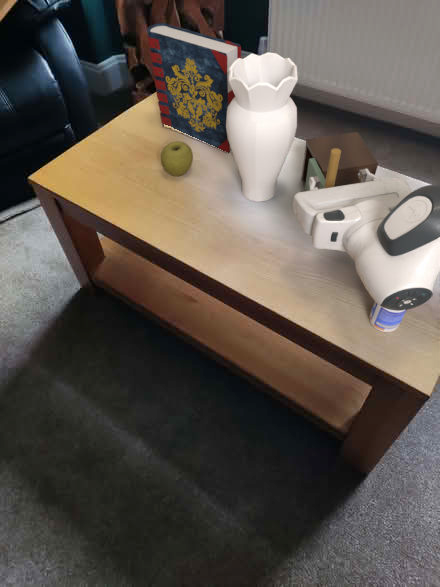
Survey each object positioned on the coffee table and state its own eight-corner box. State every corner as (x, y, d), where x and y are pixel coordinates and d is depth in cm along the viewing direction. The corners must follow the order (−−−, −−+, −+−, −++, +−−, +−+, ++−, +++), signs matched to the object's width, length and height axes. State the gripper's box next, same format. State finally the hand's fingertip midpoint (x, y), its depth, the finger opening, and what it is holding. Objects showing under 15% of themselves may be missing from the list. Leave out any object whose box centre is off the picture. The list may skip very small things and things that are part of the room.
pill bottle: (405, 327, 78) (422, 294, 70) (379, 337, 77) (394, 305, 69) (387, 305, 81) (402, 271, 74) (362, 314, 80) (375, 281, 73)
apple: (200, 171, 109) (197, 146, 103) (174, 185, 106) (170, 160, 100) (182, 158, 112) (179, 133, 107) (157, 171, 109) (152, 146, 104)
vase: (275, 166, 108) (284, 43, 85) (299, 202, 100) (316, 77, 77) (220, 179, 106) (213, 57, 83) (240, 218, 98) (239, 93, 75)
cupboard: (348, 172, 106) (357, 131, 97) (366, 204, 99) (378, 163, 90) (300, 179, 105) (306, 139, 96) (316, 211, 98) (323, 171, 89)
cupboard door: (309, 197, 101) (321, 118, 85) (326, 232, 93) (342, 153, 78) (302, 198, 100) (312, 119, 85) (318, 233, 93) (333, 155, 78)
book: (156, 125, 122) (139, 30, 103) (172, 114, 126) (159, 20, 106) (227, 154, 112) (224, 55, 93) (243, 141, 116) (242, 43, 96)
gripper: (431, 202, 69) (395, 152, 78) (309, 222, 68) (286, 169, 76) (419, 230, 74) (386, 181, 83) (304, 249, 73) (283, 197, 81)
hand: (337, 175), depth 80 cm, fingers open, 8 cm apart
